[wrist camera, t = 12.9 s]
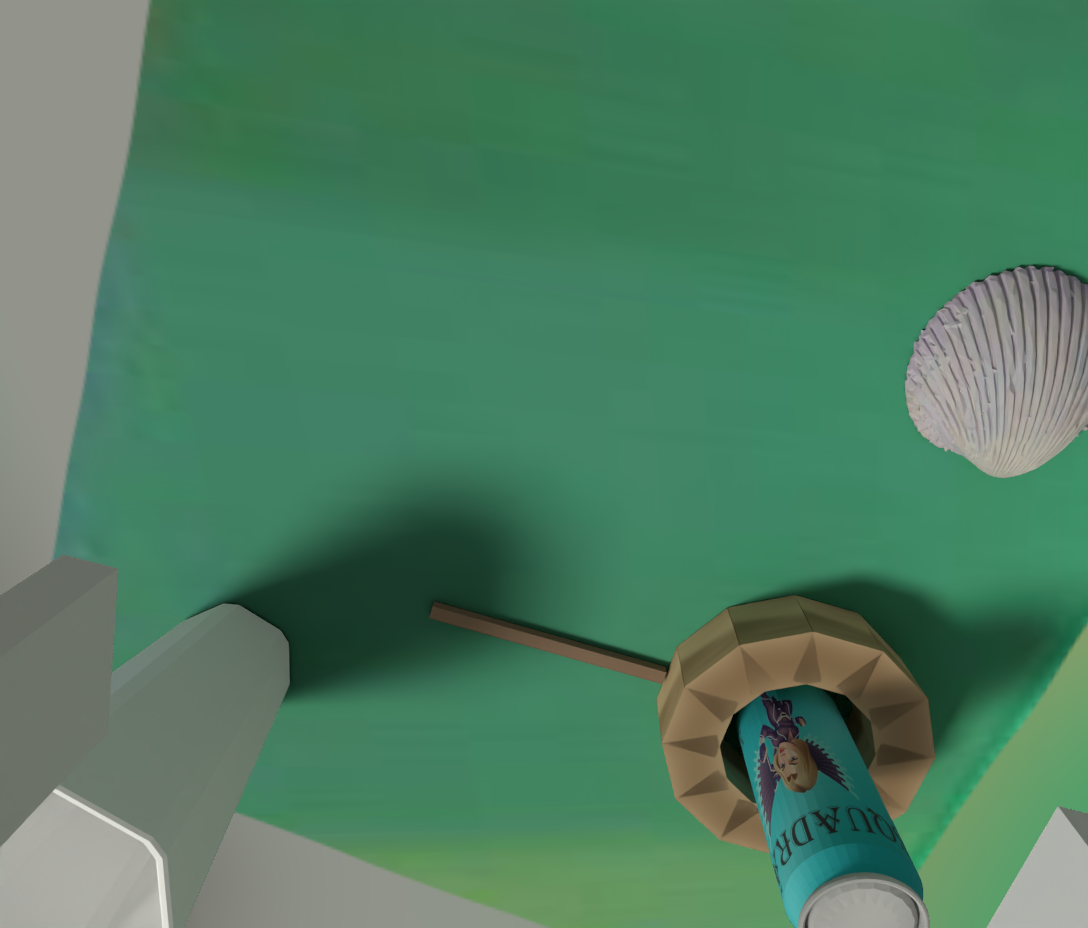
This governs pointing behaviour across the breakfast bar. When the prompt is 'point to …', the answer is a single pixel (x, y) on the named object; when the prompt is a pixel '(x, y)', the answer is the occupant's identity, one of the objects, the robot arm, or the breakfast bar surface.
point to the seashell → (1004, 371)
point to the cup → (152, 782)
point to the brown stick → (548, 642)
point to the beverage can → (825, 817)
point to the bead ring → (779, 662)
